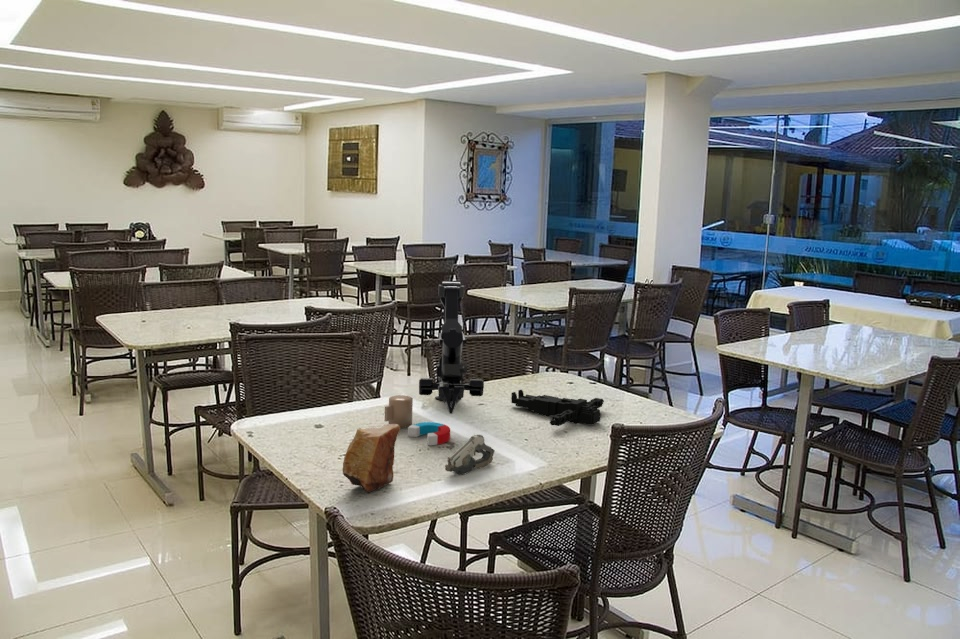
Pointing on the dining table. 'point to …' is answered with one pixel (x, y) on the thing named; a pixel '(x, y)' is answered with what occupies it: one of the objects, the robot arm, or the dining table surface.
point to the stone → (371, 457)
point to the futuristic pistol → (470, 456)
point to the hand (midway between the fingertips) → (450, 413)
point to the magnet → (430, 432)
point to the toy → (561, 408)
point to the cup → (399, 411)
